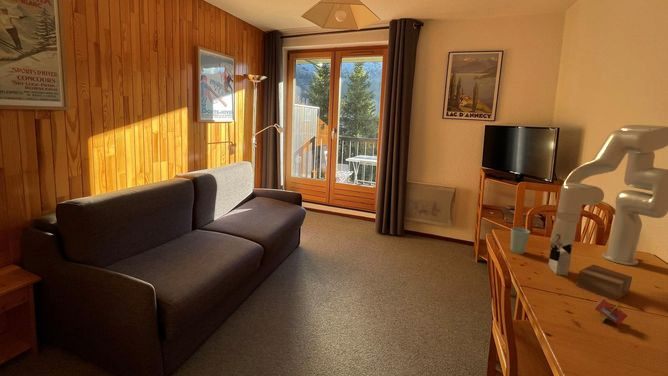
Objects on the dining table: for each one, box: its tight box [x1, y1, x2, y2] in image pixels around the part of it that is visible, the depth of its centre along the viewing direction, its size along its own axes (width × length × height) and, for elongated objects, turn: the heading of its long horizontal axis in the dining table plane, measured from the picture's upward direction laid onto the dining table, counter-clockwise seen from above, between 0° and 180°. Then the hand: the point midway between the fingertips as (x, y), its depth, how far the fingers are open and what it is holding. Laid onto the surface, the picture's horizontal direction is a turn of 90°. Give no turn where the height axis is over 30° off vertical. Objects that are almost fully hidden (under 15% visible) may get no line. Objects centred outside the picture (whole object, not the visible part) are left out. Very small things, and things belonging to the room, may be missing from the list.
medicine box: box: [547, 247, 572, 277], centre depth 140 cm, size 8×4×9 cm, turn 168°
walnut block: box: [576, 264, 633, 302], centre depth 126 cm, size 12×12×6 cm
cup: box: [510, 227, 531, 255], centre depth 160 cm, size 8×8×10 cm
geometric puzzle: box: [594, 298, 628, 326], centre depth 105 cm, size 7×7×8 cm
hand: (559, 257), depth 140 cm, fingers open, 9 cm apart
